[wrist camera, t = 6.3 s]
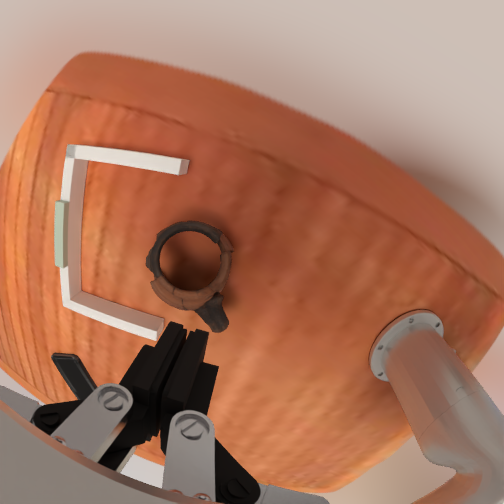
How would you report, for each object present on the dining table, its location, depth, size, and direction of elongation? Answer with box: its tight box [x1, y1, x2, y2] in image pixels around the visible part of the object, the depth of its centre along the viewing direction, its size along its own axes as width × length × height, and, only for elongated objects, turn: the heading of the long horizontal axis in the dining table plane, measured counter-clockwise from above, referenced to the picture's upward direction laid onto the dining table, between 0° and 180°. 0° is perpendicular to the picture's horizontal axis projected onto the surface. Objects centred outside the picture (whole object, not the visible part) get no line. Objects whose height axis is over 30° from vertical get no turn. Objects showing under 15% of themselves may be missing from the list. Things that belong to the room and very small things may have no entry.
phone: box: [51, 353, 98, 400], centre depth 38 cm, size 8×1×15 cm
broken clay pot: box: [146, 221, 234, 333], centre depth 28 cm, size 12×10×8 cm
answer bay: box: [54, 144, 190, 341], centre depth 28 cm, size 14×21×4 cm
